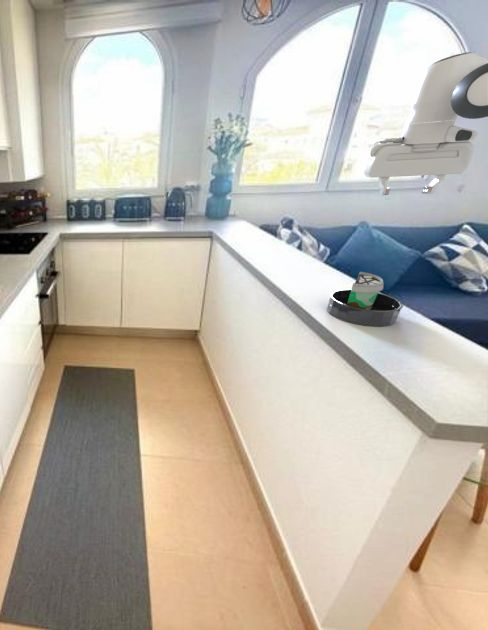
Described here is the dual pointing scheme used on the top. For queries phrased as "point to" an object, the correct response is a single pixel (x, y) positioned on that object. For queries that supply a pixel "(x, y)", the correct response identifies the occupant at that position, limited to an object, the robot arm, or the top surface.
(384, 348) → the top surface
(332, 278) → the top surface
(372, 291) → the food container
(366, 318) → the pan
